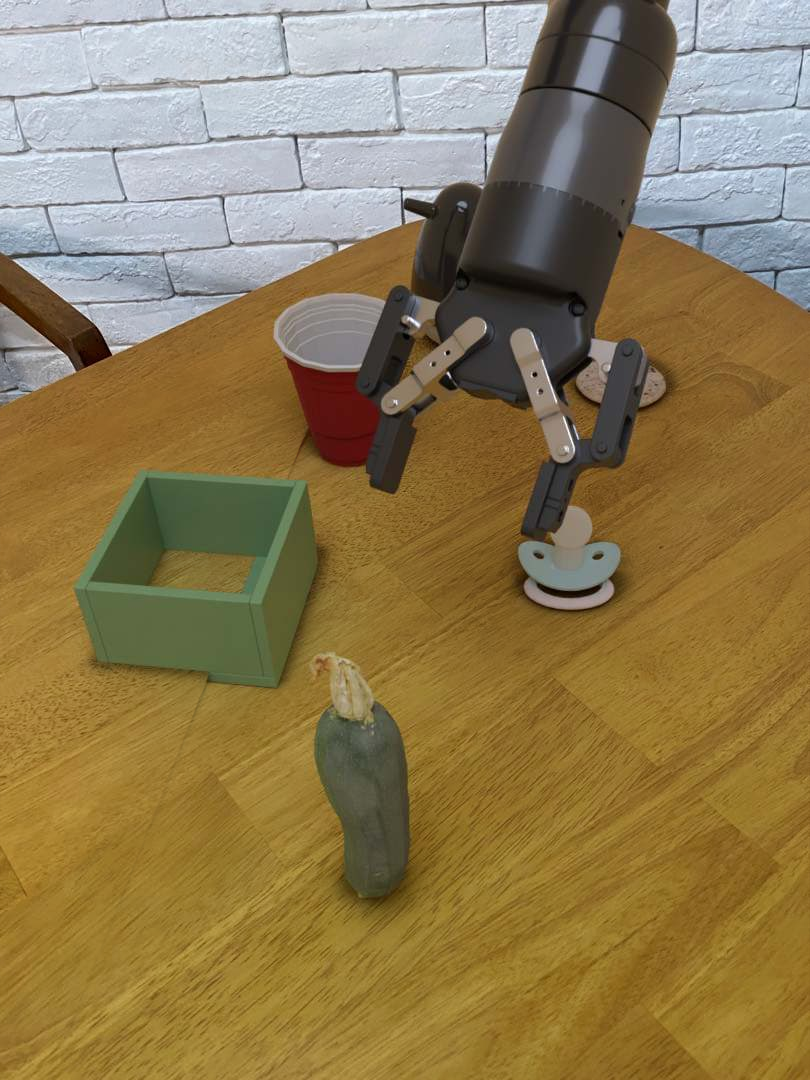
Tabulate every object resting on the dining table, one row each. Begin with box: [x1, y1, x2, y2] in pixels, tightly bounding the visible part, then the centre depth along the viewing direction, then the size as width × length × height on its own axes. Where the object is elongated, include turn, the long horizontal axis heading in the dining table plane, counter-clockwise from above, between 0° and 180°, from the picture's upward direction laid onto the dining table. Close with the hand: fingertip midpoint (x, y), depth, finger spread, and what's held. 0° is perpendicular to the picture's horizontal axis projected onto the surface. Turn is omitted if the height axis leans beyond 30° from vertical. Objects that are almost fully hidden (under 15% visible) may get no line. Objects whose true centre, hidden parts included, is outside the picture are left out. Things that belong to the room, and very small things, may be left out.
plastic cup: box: [273, 292, 386, 468], centre depth 92 cm, size 11×11×12 cm
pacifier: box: [517, 505, 622, 611], centre depth 80 cm, size 7×6×6 cm
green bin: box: [73, 469, 319, 689], centre depth 79 cm, size 13×13×8 cm
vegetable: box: [308, 651, 411, 899], centre depth 57 cm, size 4×4×20 cm
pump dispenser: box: [402, 181, 483, 345], centre depth 104 cm, size 10×10×15 cm
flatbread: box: [575, 361, 667, 408], centre depth 100 cm, size 8×8×1 cm
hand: (454, 514), depth 57 cm, fingers open, 8 cm apart
